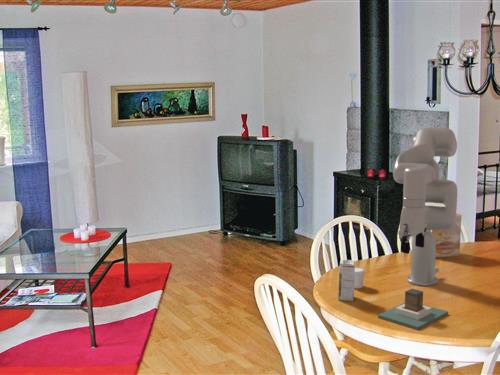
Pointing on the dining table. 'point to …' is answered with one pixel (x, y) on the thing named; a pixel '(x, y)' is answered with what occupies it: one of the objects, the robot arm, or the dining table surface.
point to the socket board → (413, 316)
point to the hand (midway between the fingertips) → (412, 249)
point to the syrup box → (346, 280)
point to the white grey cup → (358, 277)
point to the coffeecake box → (448, 240)
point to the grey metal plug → (414, 300)
